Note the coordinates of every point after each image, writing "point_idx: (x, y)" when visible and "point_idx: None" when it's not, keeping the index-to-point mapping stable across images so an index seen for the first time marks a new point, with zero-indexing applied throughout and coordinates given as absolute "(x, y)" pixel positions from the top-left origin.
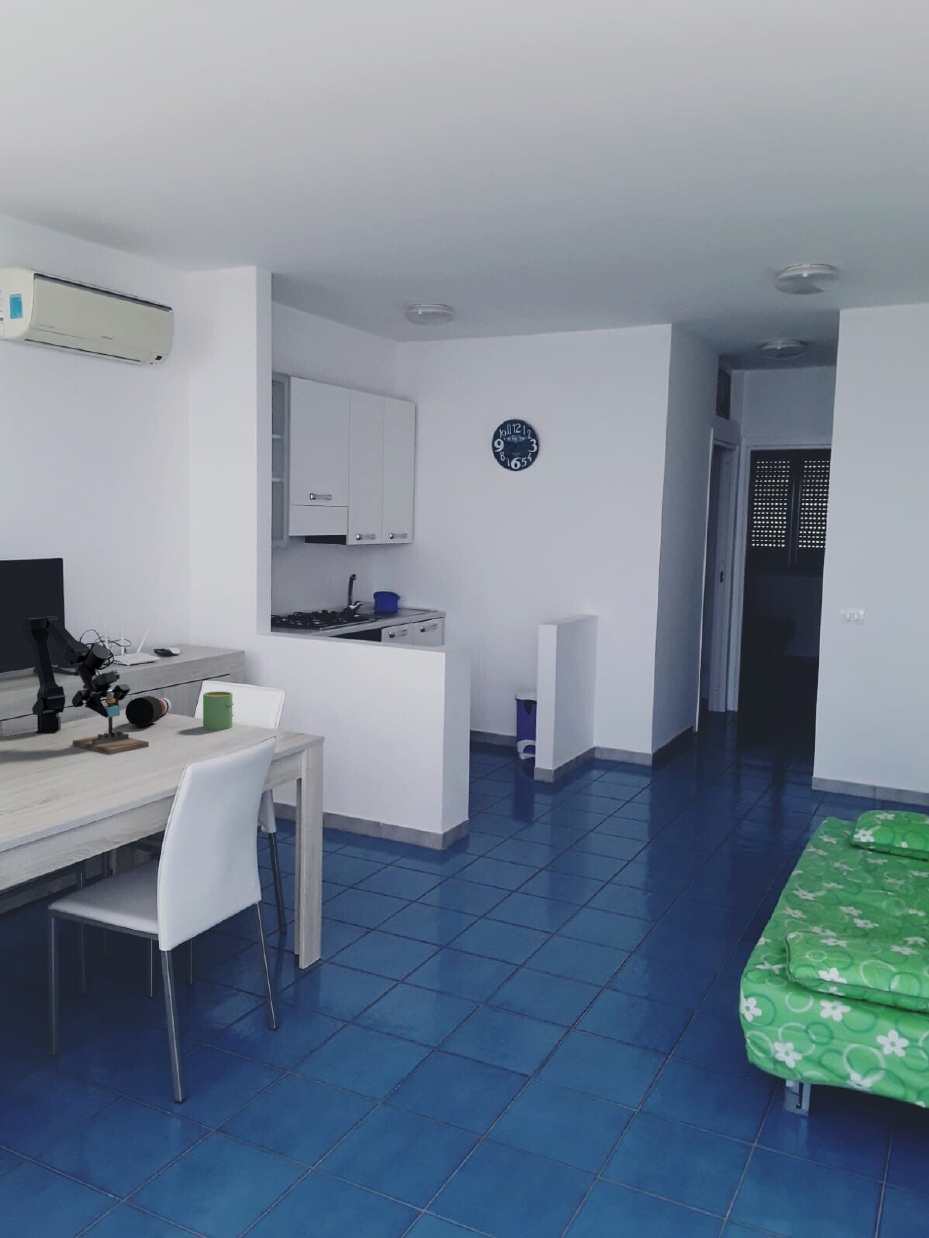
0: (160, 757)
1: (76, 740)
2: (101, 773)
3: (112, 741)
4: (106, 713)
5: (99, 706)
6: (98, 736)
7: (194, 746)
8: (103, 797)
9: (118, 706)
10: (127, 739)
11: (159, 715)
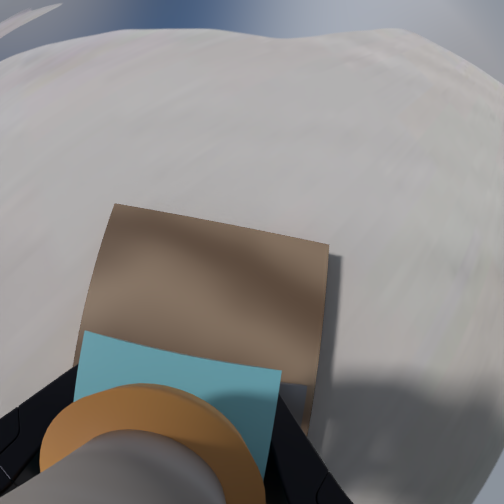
0: (253, 88)
1: None
2: (451, 139)
3: None
4: None
5: (335, 497)
6: None
7: (73, 97)
8: (479, 84)
9: (98, 338)
10: (110, 336)
11: None
